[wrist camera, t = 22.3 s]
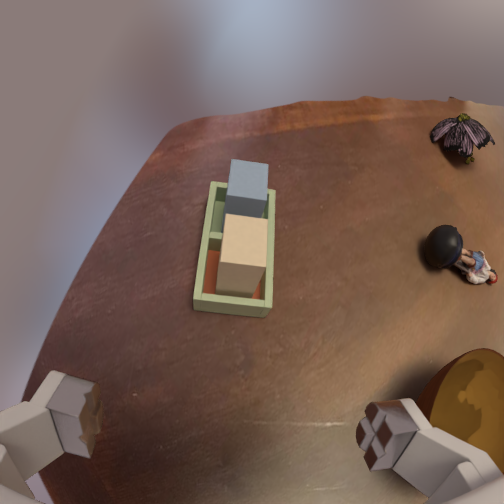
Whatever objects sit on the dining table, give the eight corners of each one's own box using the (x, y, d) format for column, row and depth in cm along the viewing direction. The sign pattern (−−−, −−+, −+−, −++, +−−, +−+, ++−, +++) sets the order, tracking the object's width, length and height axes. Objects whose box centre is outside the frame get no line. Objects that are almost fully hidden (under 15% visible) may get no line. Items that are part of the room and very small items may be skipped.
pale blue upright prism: (219, 240, 39) (226, 194, 31) (224, 206, 41) (231, 158, 34) (252, 244, 39) (267, 200, 32) (254, 211, 42) (268, 164, 34)
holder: (193, 310, 35) (193, 299, 32) (209, 199, 43) (211, 181, 39) (264, 318, 36) (272, 307, 33) (269, 207, 43) (275, 189, 40)
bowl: (422, 512, 26) (472, 524, 17) (348, 438, 31) (396, 442, 22) (487, 417, 33) (536, 407, 24) (429, 340, 38) (478, 317, 29)
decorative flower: (464, 98, 57) (509, 129, 47) (457, 137, 66) (497, 170, 56) (423, 105, 57) (472, 139, 47) (419, 148, 65) (460, 185, 56)
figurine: (449, 207, 39) (514, 261, 40) (422, 220, 46) (487, 268, 47) (441, 254, 37) (508, 303, 38) (412, 263, 44) (480, 306, 45)
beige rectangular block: (214, 297, 35) (220, 261, 28) (219, 256, 38) (225, 213, 30) (250, 301, 36) (266, 267, 28) (253, 261, 38) (268, 219, 30)
